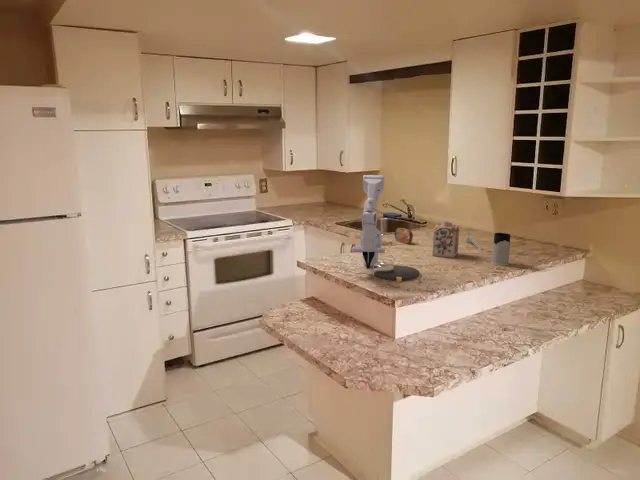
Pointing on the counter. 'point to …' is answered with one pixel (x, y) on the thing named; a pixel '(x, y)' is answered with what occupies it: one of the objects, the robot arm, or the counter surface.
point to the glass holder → (501, 249)
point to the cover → (383, 267)
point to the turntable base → (408, 280)
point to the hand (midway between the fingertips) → (367, 268)
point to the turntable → (400, 273)
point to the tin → (403, 235)
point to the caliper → (471, 240)
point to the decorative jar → (445, 240)
